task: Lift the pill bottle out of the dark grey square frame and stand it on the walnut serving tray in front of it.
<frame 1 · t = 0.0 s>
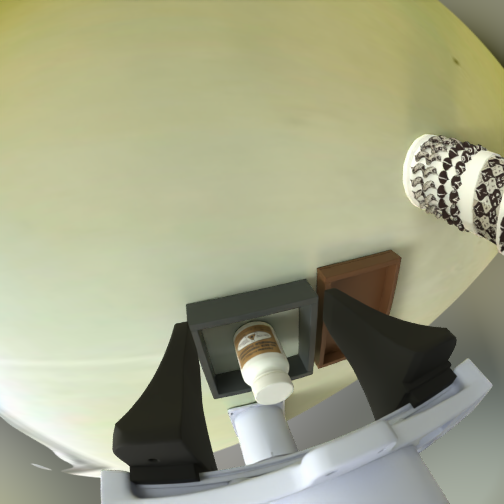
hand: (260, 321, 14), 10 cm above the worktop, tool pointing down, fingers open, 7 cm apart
pill bottle: (252, 334, 28), resting in dark grey square frame
tray: (351, 308, 30), on the worktop
dark grey square frame: (253, 335, 28), on the worktop
decorative candle: (427, 171, 24), on the worktop
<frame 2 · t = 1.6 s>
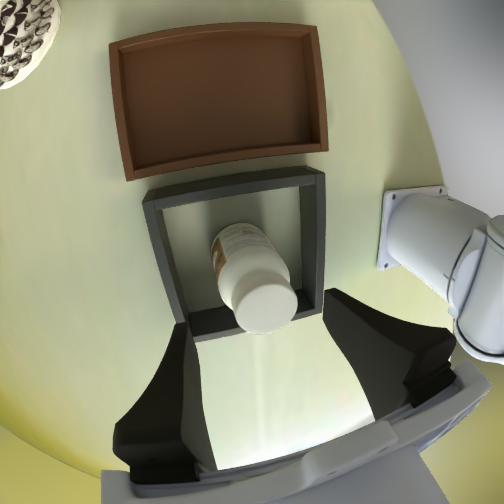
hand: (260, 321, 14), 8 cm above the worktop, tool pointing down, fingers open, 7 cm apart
pill bottle: (238, 247, 21), resting in dark grey square frame
tray: (219, 92, 16), on the worktop
dark grey square frame: (239, 249, 21), on the worktop
decorative candle: (17, 39, 9), on the worktop
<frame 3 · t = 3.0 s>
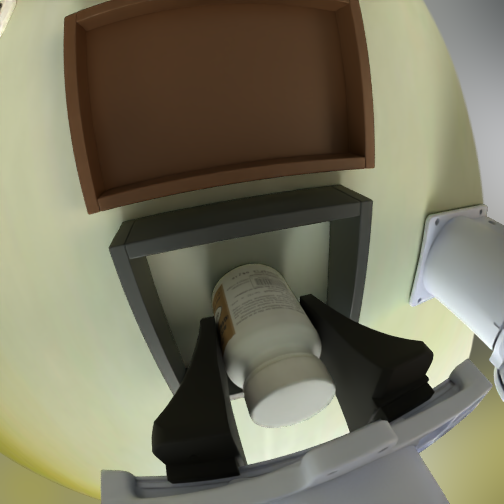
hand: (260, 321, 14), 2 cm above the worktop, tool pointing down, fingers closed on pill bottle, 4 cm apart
pill bottle: (248, 293, 16), resting in dark grey square frame, touching gripper
tray: (222, 79, 11), on the worktop
dark grey square frame: (249, 295, 16), on the worktop
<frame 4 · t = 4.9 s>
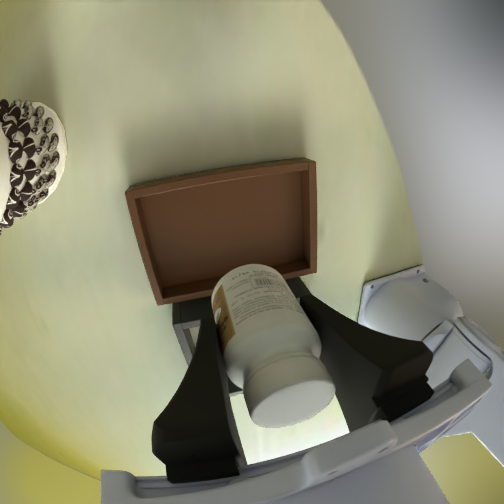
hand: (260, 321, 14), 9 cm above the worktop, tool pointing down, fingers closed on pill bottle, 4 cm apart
pill bottle: (248, 293, 16), point 7 cm above the worktop, touching gripper
tray: (227, 227, 21), on the worktop
dark grey square frame: (244, 335, 26), on the worktop
decorative candle: (25, 154, 15), on the worktop
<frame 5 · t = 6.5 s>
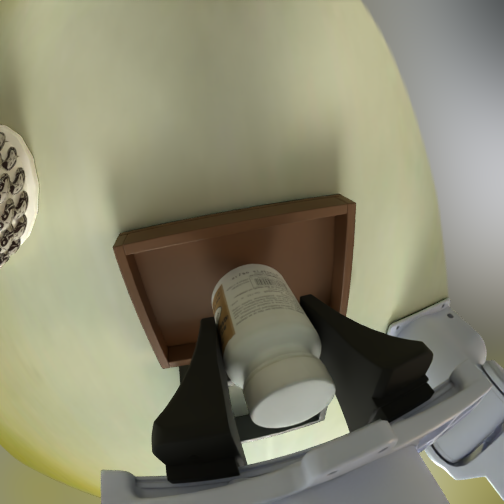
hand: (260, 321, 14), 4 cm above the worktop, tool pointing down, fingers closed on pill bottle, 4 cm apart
pill bottle: (248, 293, 16), point 1 cm above the worktop, touching gripper
tray: (243, 279, 17), on the worktop
dark grey square frame: (258, 385, 23), on the worktop
when the fingers open (3 cm above the worktop, at t = 7.3 s): pill bottle stays where it is, resting on tray.
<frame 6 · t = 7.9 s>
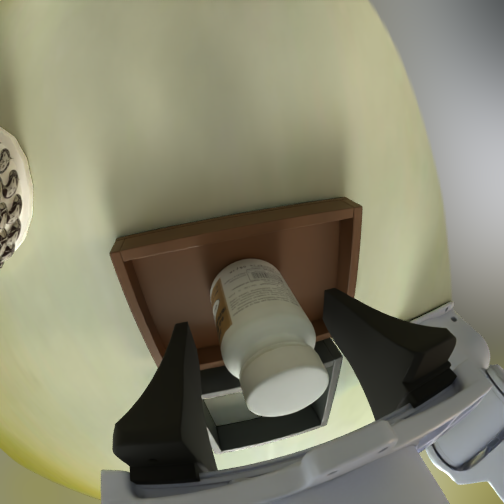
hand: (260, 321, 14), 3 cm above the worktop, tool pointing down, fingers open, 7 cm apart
pill bottle: (245, 287, 17), resting on tray
tray: (245, 285, 17), on the worktop
dark grey square frame: (260, 391, 22), on the worktop
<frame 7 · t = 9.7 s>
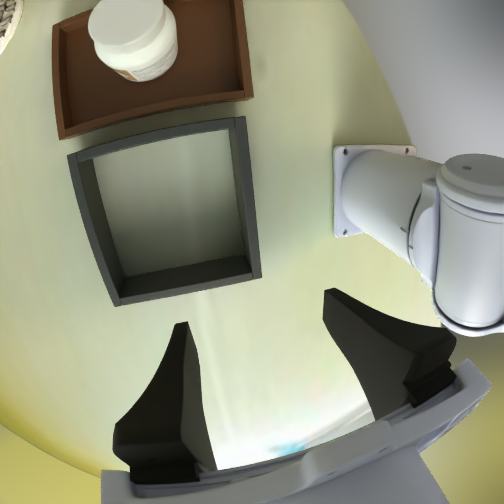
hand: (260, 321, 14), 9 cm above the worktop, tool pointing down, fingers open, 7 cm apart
pill bottle: (146, 54, 14), resting on tray
tray: (147, 55, 14), on the worktop
dark grey square frame: (169, 206, 19), on the worktop
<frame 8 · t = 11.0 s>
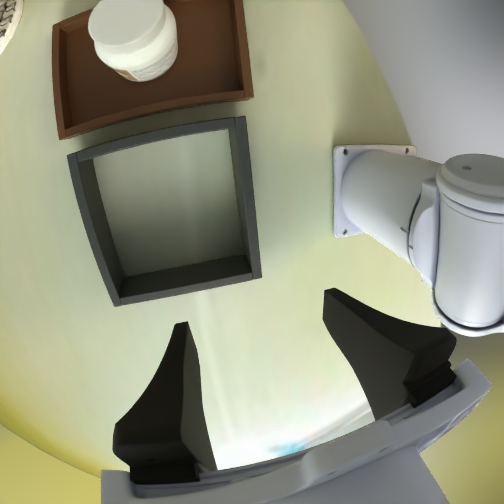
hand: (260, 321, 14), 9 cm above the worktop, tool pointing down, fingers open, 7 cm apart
pill bottle: (146, 54, 14), resting on tray
tray: (147, 55, 14), on the worktop
dark grey square frame: (169, 206, 19), on the worktop
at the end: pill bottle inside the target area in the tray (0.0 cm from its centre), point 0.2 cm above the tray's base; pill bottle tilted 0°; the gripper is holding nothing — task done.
